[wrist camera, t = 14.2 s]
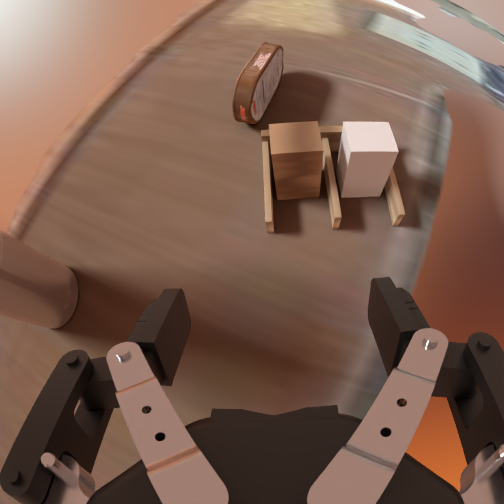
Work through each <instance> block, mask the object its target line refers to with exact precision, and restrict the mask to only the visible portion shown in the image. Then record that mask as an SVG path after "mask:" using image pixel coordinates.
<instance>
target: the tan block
mask: <svg viewBox="0 0 504 504" xmlns="http://www.w3.org/2000/svg"><path fill="white" fill-rule="evenodd" d="M269 133H270V146H271V157H272V164H273V171H274V179H275V186H276V193H277V200H286V199H300V198H315V197H319V193H320V184H321V173H322V163H323V152H324V150H323V145H322V140H321V135H320V130H319V126H318V121H309V122H292V123H278V124H269Z"/></svg>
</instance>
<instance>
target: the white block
mask: <svg viewBox="0 0 504 504" xmlns="http://www.w3.org/2000/svg"><path fill="white" fill-rule="evenodd" d="M398 152H399V151H398V148H397V145H396V142H395V139H394V136H393V133H392V131H391V128H390V125H389V123H388V122H343V128H342V135H341V142H340V148H339V155H338V161H337V168H336V173H337V178H338V184H339V190H340V196H341V198H350V197H377V196H380V195H381V193H382V191H383V188H384V186H385V184H386V181H387V179H388V177H389V174H390V172H391V169H392V167H393V165H394V162H395V160H396V157H397V155H398Z"/></svg>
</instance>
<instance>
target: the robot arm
mask: <svg viewBox="0 0 504 504" xmlns="http://www.w3.org/2000/svg"><path fill="white" fill-rule="evenodd" d="M77 300H78V283H77V280H76V277H75V275H74V273H73V271H72V270H71V269H70V268H68V267H67V266H65V265H63V264H61V263H59V262H57V261H55V260H53V259H51V258H50V257H48V256H46V255H44V254H42V253H41V252H39V251H37V250H35V249H33V248H31V247H30V246H28V245H26V244H24V243H23V242H21V241H19V240H17V239H16V238H14V237H12V236H10V235H9V234H7V233H5V232H4V231H2V230H0V315H3V316H6V317H10V318H13V319H17V320H20V321H24V322H28V323H31V324H35V325H39V326H43V327H47V328H52V329H55V328H59V327H61V326H63V325H64V324H66V323H67V322H68V321H69V319H70V318H71V317H72V315H73V313H74V311H75V308H76V305H77ZM368 320H369V324H370V327H371V329H372V332H373V335H374V337H375V340H376V343H377V346H378V349H379V351H380V354H381V357H382V360H383V363H384V366H385V369H386V372H387V375H388V379H387V381H386V383H385V385H384V386H383V388H382V390H381V392H380V393H379V395H378V397H377V398H376V400H375V402H374V403H373V405H372V406H371V408H370V410H369V411H368V413H367V414H366V416H365V417H364V419H363V420H361V419H358V418H356V417H353V416H349V415H345V414H338V408H337V405H332V406H321V407H307V408H303V409H299V410H295V411H292V412H288V413H284V414H279V415H267V414H262V413H257V412H252V411H247V410H243V409H212V413H211V417H209V418H204V419H201V420H198V421H195V422H193V423H191V424H188V425H187V426H185V427H184V425H183V424H182V422H181V420H180V419H179V417H178V415H177V414H176V412H175V410H174V408H173V407H172V405H171V403H170V402H169V400H168V398H167V396H166V395H165V393H164V391H163V389H162V387H161V385H164V386H171V385H172V382H173V379H174V376H175V373H176V370H177V367H178V364H179V361H180V358H181V356H182V353H183V350H184V347H185V344H186V341H187V338H188V335H189V332H190V328H191V321H190V315H189V312H188V308H187V304H186V300H185V296H184V292H183V290H182V289H164V291H163V292H162V294H161V296H160V298H159V300H154V301H153V302H152V303H150V304H149V305H148V306H147V307H146V308H145V310H144V311H143V313H142V316H141V317H140V318H139V320H138V323H137V324H136V325H135V327H134V329H133V331H132V332H131V334H130V336H129V338H128V340H127V341H126V342H123V343H120V344H117V345H115V346H114V347H113V348H111V349H110V350H109V352H108V353H107V356H106V357H102V358H96V359H90V358H89V356H88V354H87V353H86V352H85V351H83V350H73V351H70V352H68V353H66V354H65V355H64V356H63V357H62V358H61V359H60V360H59V362H58V364H57V365H56V367H55V369H54V370H53V372H52V374H51V375H50V377H49V379H48V381H47V382H46V384H45V386H44V387H43V389H42V391H41V393H40V394H39V396H38V398H37V400H36V402H35V403H34V405H33V407H32V409H31V411H30V413H29V415H28V416H27V418H26V420H25V422H24V424H23V426H22V428H21V430H20V432H19V434H18V436H17V438H16V440H15V442H14V444H13V446H12V448H11V450H10V453H9V455H8V457H7V459H6V461H5V463H4V466H3V468H2V470H1V473H0V484H1V487H2V489H3V490H4V491H5V492H6V493H7V494H8V495H10V496H11V497H13V498H14V499H16V500H17V501H18V502H20V503H21V504H504V352H503V350H502V349H501V347H500V345H499V343H498V342H497V341H496V339H495V338H494V337H492V336H491V335H489V334H486V333H481V332H478V333H474V334H472V335H471V336H470V337H469V338H468V341H467V343H454V342H448V340H447V338H446V336H445V335H444V334H443V333H441V332H440V331H438V330H435V329H431V328H430V326H429V325H428V323H427V321H426V319H425V318H424V316H423V314H422V313H421V311H420V310H419V309H418V306H417V304H416V303H415V301H414V299H413V298H412V296H411V295H410V293H408V292H407V291H406V290H404V289H403V288H396V287H395V285H394V283H393V281H392V280H391V278H390V277H384V278H373V279H372V281H371V288H370V297H369V305H368ZM431 396H435V397H447V400H448V403H449V406H450V409H451V412H452V415H453V418H454V421H455V424H456V427H457V430H458V434H459V437H460V440H461V444H462V447H463V451H464V454H465V458H466V462H467V467H466V468H465V469H464V470H463V472H462V475H461V479H460V483H461V488H460V492H458V490H456V489H455V488H454V487H453V486H452V485H451V484H449V483H448V482H446V481H445V480H444V479H442V478H441V477H439V476H438V475H436V474H435V473H434V472H432V471H431V470H429V469H428V468H427V467H425V466H424V465H422V464H421V463H420V462H418V461H417V460H416V459H414V458H413V457H412V456H410V455H409V454H407V453H406V452H405V451H406V450H407V448H408V445H409V443H410V442H411V440H412V437H413V435H414V433H415V431H416V429H417V427H418V425H419V423H420V420H421V418H422V416H423V414H424V411H425V409H426V407H427V404H428V402H429V399H430V397H431ZM78 400H80V401H81V402H80V405H79V407H78V409H77V411H76V413H75V416H74V409H75V407H76V405H77V402H78ZM119 407H120V408H121V411H122V413H123V416H124V418H125V421H126V423H127V426H128V428H129V431H130V433H131V435H132V438H133V440H134V442H135V445H136V447H137V449H138V451H139V454H140V456H141V458H142V459H141V460H140V461H138V462H137V463H136V464H134V465H133V466H132V467H130V468H129V469H127V470H126V471H125V472H123V473H122V474H120V475H119V476H117V477H116V478H115V479H113V480H112V481H110V482H109V483H107V484H106V485H104V486H103V487H101V488H100V489H98V490H97V491H96V492H95V482H94V479H93V477H92V476H91V472H92V469H93V466H94V462H95V459H96V456H97V454H98V451H99V448H100V445H101V442H102V439H103V436H104V433H105V431H106V428H107V425H108V422H109V420H110V417H111V414H112V411H113V409H114V408H119Z"/></svg>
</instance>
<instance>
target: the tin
mask: <svg viewBox="0 0 504 504" xmlns="http://www.w3.org/2000/svg"><path fill="white" fill-rule="evenodd" d="M282 73H283V48H282V46H280V45H276V44H270V43H267V42H264V43H262V44H261V45H260V46H259V48H258V49H257V50H256V52H255V53H254V55H253V56H252V57H251V59H250V60H249V62H248V63H247V64H246V66H245V67H244V69H243V70H242V71H241V73H240V75H239V77H238V79H237V82H236V85H235V89H234V93H233V100H232V111H233V116H234V118H235V120H236V121H237V122H245V123H250V124H256V123H258V122H259V121H260V120H261V118H262V117H263V115H264V113H265V111H266V109H267V107H268V105H269V103H270V102H271V100H272V98H273V96H274V94H275V92H276V90H277V88H278V86H279V83H280V80H281V77H282Z"/></svg>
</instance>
